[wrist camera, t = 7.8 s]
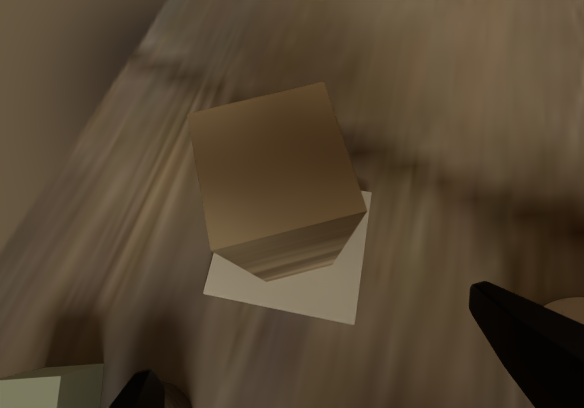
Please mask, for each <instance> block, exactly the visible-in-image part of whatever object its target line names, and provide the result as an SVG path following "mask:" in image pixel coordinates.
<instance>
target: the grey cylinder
mask: <svg viewBox="0 0 584 408" xmlns="http://www.w3.org/2000/svg"><path fill="white" fill-rule="evenodd" d="M162 384H163V386H164V389H165V407H164V408H192V407H191V404H190V401H189V399H188V398H187V396H186V395H185V393H184V392H183V391H182V390H181V389H180V388H178V387H177V386H175V385H173V384H170V383H162ZM109 406H110V405H109ZM109 406H107V407H106V408H109Z"/></svg>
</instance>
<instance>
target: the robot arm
mask: <svg viewBox="0 0 584 408" xmlns="http://www.w3.org/2000/svg"><path fill="white" fill-rule="evenodd" d="M469 309H470V312H471V314H472V316H473V317H474V319H475V320H476V322H477V324H478V325H479V327H480V329H481V330H482V332H483V333H484V335H485V337H486V338H487V340H488V342H489V343H490V345H491V346H492V348H493V350H494V351H495V353H496V354H497V356H498V358H499V359H500V361H501V362H502V364H503V365H504V367H505V368H506V369H507V371H508V372H509V374H510V375H511V376H512V378H513V379H514V380H515V382H516V383H517V384H518V386H519V387H520V388H521V390H522V391H523V392H524V393H525V395H526V396H527V397H528V399H529V400H530V401H531V403H532V404H533V405H534V407H535V408H584V324H582V323H580V322H577V321H575V320H573V319H571V318H568V317H566V316H564V315H562V314H559V313H557V312H555V311H553V310H550V309H548V308H546V307H544V306H542V305H539V304H537V303H535V302H533V301H530V300H528V299H526V298H524V297H521V296H519V295H517V294H515V293H512V292H510V291H508V290H506V289H503V288H501V287H499V286H497V285H494V284H492V283H490V282H487V281H483V282H479V283H475V284H472V285H471V287H470V296H469ZM164 407H165V389H164V386H163V384H162V383H161V381H160V380H159V378H158V376H157V375H156V373H155V372H154V370H152V369H147V370H143V371H139V372H137V373H135V374H134V375H133V377H132V378H131V379H130V380H129V382H128V383H127V384H126V386H125V387H124V388H123V389H122V391H121V392H120V393H119V395H118V396H117V397H116V399H115V400H114V401H113V402H112V404H111V405H110V406H109V408H164Z"/></svg>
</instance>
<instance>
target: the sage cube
mask: <svg viewBox="0 0 584 408" xmlns="http://www.w3.org/2000/svg"><path fill="white" fill-rule="evenodd" d="M103 370H104V363H102V364H88V365H74V366H60V367H46V368H41V369H37V370H33V371H28V372H24V373H20V374H16V375H12V376H8V377H4V378H0V408H100V401H101V391H102V380H103Z"/></svg>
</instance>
